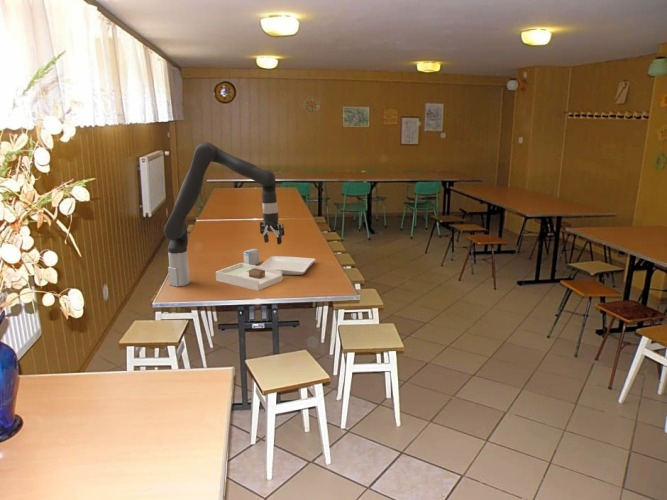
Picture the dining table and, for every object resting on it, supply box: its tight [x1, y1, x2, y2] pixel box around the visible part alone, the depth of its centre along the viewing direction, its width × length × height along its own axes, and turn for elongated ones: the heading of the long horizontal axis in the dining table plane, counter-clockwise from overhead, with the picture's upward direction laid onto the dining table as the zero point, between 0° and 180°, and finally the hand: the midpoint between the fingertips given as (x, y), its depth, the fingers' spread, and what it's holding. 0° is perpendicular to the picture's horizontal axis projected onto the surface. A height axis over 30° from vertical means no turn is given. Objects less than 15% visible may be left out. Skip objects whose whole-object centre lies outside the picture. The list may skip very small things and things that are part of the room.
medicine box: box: [242, 248, 260, 266], centre depth 298 cm, size 8×4×9 cm, turn 141°
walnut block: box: [249, 268, 265, 279], centre depth 268 cm, size 4×7×4 cm, turn 56°
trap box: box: [215, 262, 284, 292], centre depth 271 cm, size 19×29×5 cm, turn 56°
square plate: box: [259, 255, 317, 276], centre depth 291 cm, size 27×27×4 cm
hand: (273, 243), depth 261 cm, fingers open, 8 cm apart
